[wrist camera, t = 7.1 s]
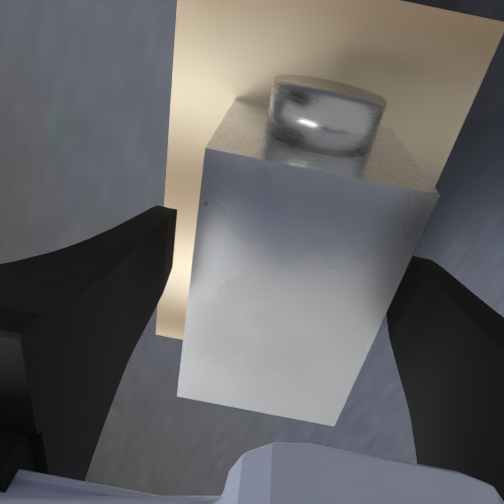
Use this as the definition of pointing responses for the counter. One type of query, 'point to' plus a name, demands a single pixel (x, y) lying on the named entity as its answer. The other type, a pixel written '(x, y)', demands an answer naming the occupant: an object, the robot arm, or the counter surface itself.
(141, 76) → the counter surface
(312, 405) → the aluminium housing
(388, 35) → the wood stand
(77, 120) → the counter surface
